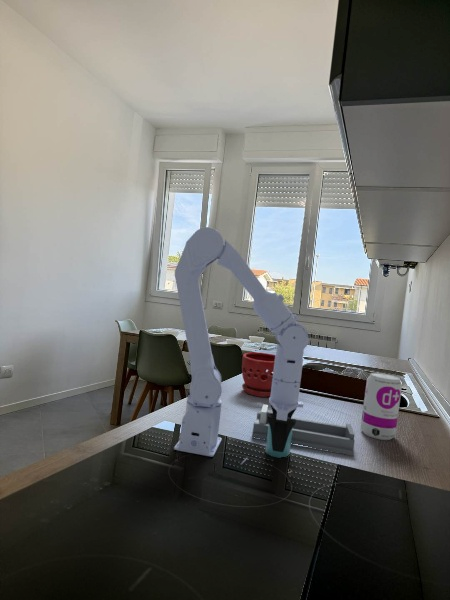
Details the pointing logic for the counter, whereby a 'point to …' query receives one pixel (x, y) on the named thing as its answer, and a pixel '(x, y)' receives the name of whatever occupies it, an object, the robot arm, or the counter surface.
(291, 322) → the robot arm
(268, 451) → the jar
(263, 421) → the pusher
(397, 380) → the supplement can
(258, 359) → the plant pot
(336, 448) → the lane
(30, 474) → the counter surface
